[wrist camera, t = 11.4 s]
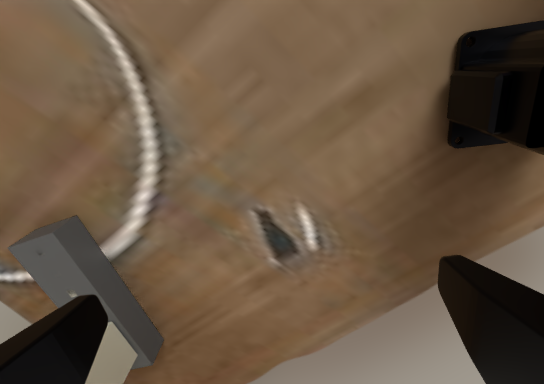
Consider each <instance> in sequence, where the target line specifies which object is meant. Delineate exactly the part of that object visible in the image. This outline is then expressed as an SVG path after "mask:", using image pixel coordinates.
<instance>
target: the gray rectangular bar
mask: <svg viewBox="0 0 544 384" xmlns="http://www.w3.org/2000/svg"><path fill="white" fill-rule="evenodd" d="M8 249H9V250H10V252H11V253H12V254H13V255H14V256H15V257H16V259H17V260H18V261H19V262H20V263H21V264H22V266H23V267H24V268H25V269H26V270H27V272H28V273H29V274H30V275H31V276H32V277H33V279H34V280H35V281H36V282H37V283H38V285H39V286H40V287H41V288H42V289H43V290H44V292H45V293H46V294H47V295H48V296H49V298H50V299H51V300H52V301H53V302H54V303H55V305H56V306H57V307H58V308H60V307H61V306H63V305H65V304H66V303H68V302H70V301H71V300H73V299H74V298H76V297H78V296H81V295H89V294H94V295H96V296H97V297H98V298H99V300H100V302H101V304H102V305H103V307H104V309H105V311H106V313H107V315H108V322H113V324H114V325H115V326H116V327H117V329H118V330H119V331H120V333H121V334H122V335H123V337H124V338H125V339H126V340H127V342H128V343H129V344H130V346H131V347H132V348H133V349H134V351H135V352H136V353H137V357H136V359H135V361H134V363H133V365H132V367H131V369H130V370H132V369H136V368H141V367H146V366H150V365H153V363H154V361H155V359H156V356H157V354H158V352H159V350H160V347H161V345H162V343H163V341H164V339H163V338H162V336H161V335H160V333H159V332H158V331H157V329H156V328H155V326H154V325H153V324H152V322H151V321H150V319H149V318H148V316H147V315H146V314H145V312H144V311H143V309H142V308H141V306H140V305H139V304H138V302H137V301H136V299H135V298H134V296H133V295H132V294H131V292H130V291H129V289H128V288H127V286H126V285H125V284H124V282H123V281H122V279H121V278H120V276H119V275H118V274H117V272H116V271H115V269H114V268H113V266H112V265H111V264H110V262H109V261H108V259H107V258H106V257H105V255H104V254H103V252H102V251H101V249H100V248H99V247H98V245H97V244H96V242H95V241H94V239H93V238H92V237H91V235H90V234H89V232H88V231H87V229H86V228H85V227H84V225H83V224H82V222H81V221H80V219H79V218H78V217H77V215H76V216H74V217H71V218H68V219H65V220H62V221H59V222H56V223H53V224H50V225H47V226H44V227H41V228H39V229H36V230H34V231H32V232H31V233H29V234H28V235H26V236H25V237H23V238H22V239H20V240H19V241H17V242H16V243H14V244H13V245H11V246H10V247H8Z"/></svg>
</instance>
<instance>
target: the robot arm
mask: <svg viewBox="0 0 544 384" xmlns="http://www.w3.org/2000/svg"><path fill="white" fill-rule="evenodd" d="M469 37H470V38H471V40H472V42H471V45H470V46H469V47H468V46H467V45H466V41H467V39H468V38H469ZM447 118H448V119H449V120H450V121H449V131H448V144H449V145H450V146H452V147H454V148H467V147H475V146H484V145H492V144H501V143H512V144H514V145H517V146H520V147H523V148H526V149H529V150H531V151H534V152H537V153H540V154H543V155H544V20H543V21H536V22H530V23H524V24H517V25H511V26H504V27H498V28H491V29H485V30H478V31H472V32H467V33H464V34H463V35H462V36H461V37H460V38H459V40H458V43H457V52H456V62H455V72H454V73H453V74H452V75H451V81H450V92H449V102H448V112H447ZM457 137H460V141H459V142H457V143H455V140H456V138H457ZM438 288H439V292H440V294H441V297H442V299H443V301H444V303H445V305H446V307H447V309H448V312H449V314H450V316H451V318H452V320H453V322H454V324H455V327H456V329H457V331H458V333H459V335H460V337H461V339H462V342H463V344H464V346H465V348H466V349H467V352H468V354H469V355H470V357H471V359H472V361H473V363H474V364H475V366H476V368H477V369H478V371H479V373H480V375H481V376H482V378H483V380H484V381H485V383H486V384H544V294H541V293H539V292H537V291H535V290H533V289H531V288H529V287H527V286H525V285H522V284H520V283H518V282H516V281H514V280H511V279H510V278H507V277H505V276H503V275H501V274H499V273H497V272H495V271H493V270H491V269H488V268H486V267H484V266H482V265H480V264H478V263H476V262H474V261H472V260H469V259H467V258H465V257H463V256H461V255H452V256H444V257H442V258H441V259H440V262H439V273H438ZM107 325H108V315H107V313H106V311H105V309H104V307H103V305H102V304H101V302H100V300H99V298H98V297H97V296H96V295H94V294H89V295H81V296H78V297H76V298H74V299H73V300H71V301H70V302H68V303H66V304H65V305H63V306H61V307H60V308H58V309H57V310H55V311H53V312H52V313H50V314H49V315H47V316H45V317H44V318H42V319H40V320H39V321H37V322H36V323H34V324H32V325H31V326H29V327H28V328H26V329H24V330H23V331H21V332H19V333H18V334H16V335H15V336H13V337H12V338H10V339H8V340H7V341H5V342H3V343H2V344H0V384H85V382H86V380H87V377H88V375H89V372H90V370H91V367H92V365H93V362H94V359H95V357H96V354H97V352H98V349H99V346H100V344H101V341H102V339H103V336H104V333H105V331H106V328H107Z"/></svg>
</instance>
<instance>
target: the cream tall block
mask: <svg viewBox="0 0 544 384" xmlns="http://www.w3.org/2000/svg"><path fill="white" fill-rule="evenodd" d="M136 357H137V353H136V352H135V351H134V349H133V348H132V347H131V346H130V344H129V343H128V342H127V340H126V339H125V338H124V337H123V335H122V334H121V333H120V331H119V330H118V329H117V327H116V326H115V325H114V324H113V322H108V325H107V328H106V331H105V333H104V336H103V339H102V341H101V344H100V346H99V349H98V352H97V354H96V357H95V359H94V362H93V365H92V367H91V370H90V372H89V375H88V377H87V380H86V382H85V384H123V383H124V381H125V379H126V377H127V375H128V373H129V371H130V369H131V367H132V365H133V363H134V361H135V359H136Z"/></svg>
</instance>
